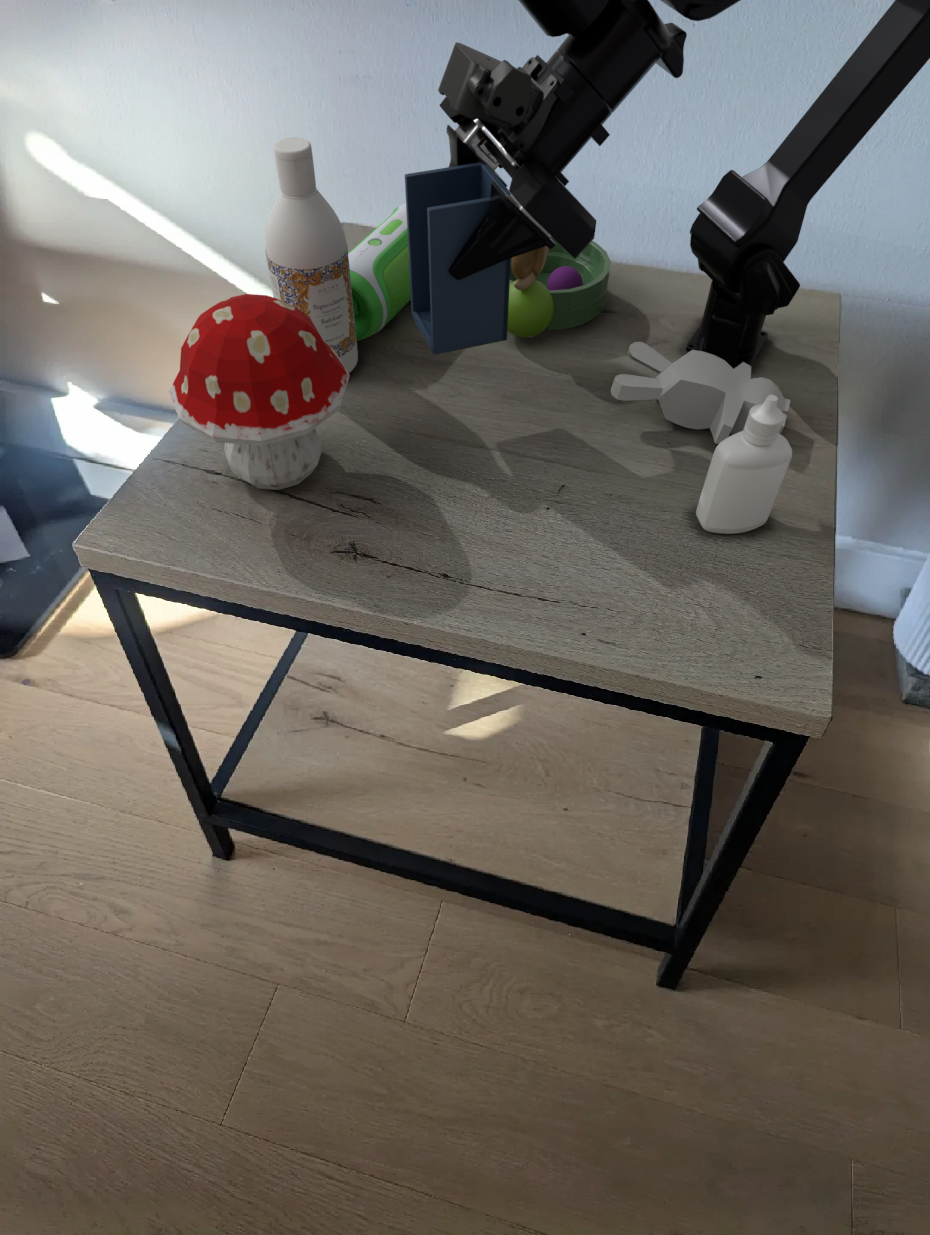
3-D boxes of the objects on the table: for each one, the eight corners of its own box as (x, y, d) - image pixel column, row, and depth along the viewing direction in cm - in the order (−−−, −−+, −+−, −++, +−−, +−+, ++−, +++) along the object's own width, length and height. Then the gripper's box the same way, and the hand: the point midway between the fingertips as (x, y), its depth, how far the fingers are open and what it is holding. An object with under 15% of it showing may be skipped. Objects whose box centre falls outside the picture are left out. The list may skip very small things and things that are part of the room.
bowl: (519, 259, 96) (521, 219, 92) (622, 288, 92) (628, 248, 88) (466, 313, 89) (466, 272, 85) (575, 347, 85) (580, 305, 82)
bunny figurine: (787, 431, 71) (614, 372, 73) (762, 476, 75) (599, 419, 77) (802, 367, 77) (641, 314, 78) (779, 412, 81) (626, 361, 83)
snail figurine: (565, 323, 87) (579, 205, 78) (534, 355, 84) (544, 235, 75) (519, 307, 89) (526, 189, 80) (486, 337, 86) (490, 218, 76)
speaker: (379, 355, 84) (374, 284, 78) (315, 336, 86) (305, 265, 80) (459, 270, 94) (459, 201, 88) (399, 255, 96) (396, 186, 90)
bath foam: (306, 394, 80) (270, 172, 65) (273, 357, 84) (232, 138, 68) (371, 370, 83) (352, 150, 67) (337, 334, 86) (311, 118, 71)
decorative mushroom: (247, 399, 80) (211, 242, 68) (385, 435, 76) (373, 277, 65) (161, 496, 71) (104, 337, 60) (312, 542, 68) (283, 382, 57)
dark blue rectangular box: (482, 302, 76) (485, 161, 67) (507, 340, 72) (513, 196, 63) (411, 316, 75) (404, 174, 65) (433, 355, 71) (429, 210, 62)
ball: (585, 260, 87) (552, 256, 86) (591, 289, 86) (557, 286, 85) (572, 284, 91) (539, 281, 90) (577, 313, 90) (544, 310, 89)
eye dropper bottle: (762, 546, 68) (810, 425, 59) (691, 529, 69) (727, 407, 60) (768, 510, 71) (815, 388, 62) (700, 494, 72) (736, 372, 63)
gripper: (465, -45, 62) (331, 140, 68) (572, 46, 51) (401, 257, 57) (557, 66, 69) (429, 223, 76) (667, 166, 58) (507, 340, 65)
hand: (439, 256), depth 68 cm, fingers closed on dark blue rectangular box, 6 cm apart
